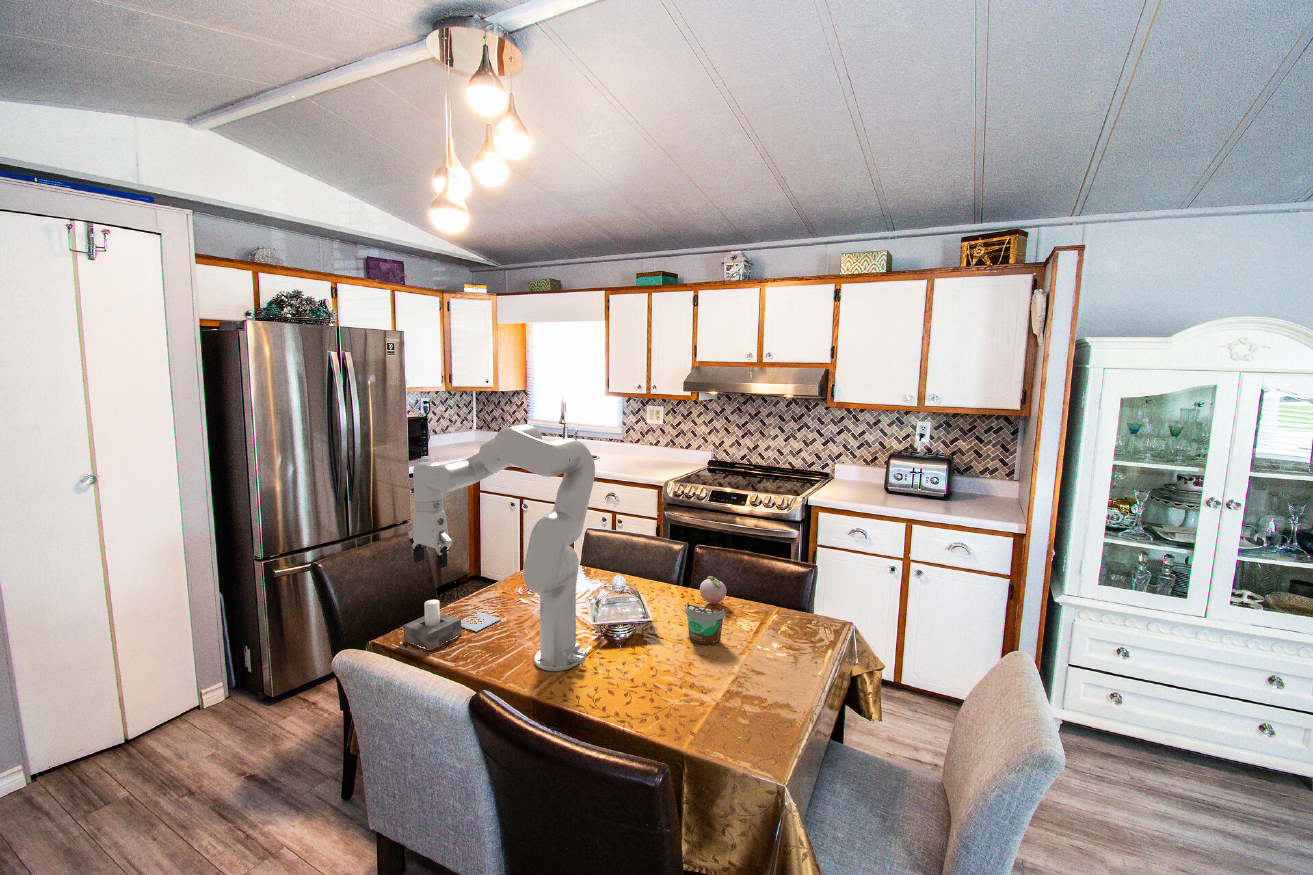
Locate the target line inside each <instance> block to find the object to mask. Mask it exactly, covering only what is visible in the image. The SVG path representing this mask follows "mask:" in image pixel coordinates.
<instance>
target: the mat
mask: <svg viewBox="0 0 1313 875" xmlns="http://www.w3.org/2000/svg"><path fill="white" fill-rule="evenodd" d="M476 613H477V614H475V613H472V614H471V615H478V616H470V615H468V616H467V618H466V617H464V618H463V619H481V620H473V621H484V622H473V623H477V624H461V626H462V627H464V628H469V629H470V630H474V631H476V632H477V631H478V630H481V629H482V628H485V627H486V626H489V625H491V624H492V623H495V622H497V621H499V620H501V621H502V618H501V617H497V616H494V615H491V614H487V613H485V612H481V611H477V612H476ZM468 617H478V618H468ZM479 617H480V618H479ZM483 619H484V620H483ZM461 621H468V620H462V619H461ZM469 621H470V620H469ZM471 621H472V620H471ZM499 622H500V621H499ZM461 623H472V622H461ZM481 623H482V624H481ZM497 623H498V622H497ZM495 624H496V623H495ZM491 626H492V625H491ZM489 627H490V626H489ZM485 629H486V628H485ZM481 631H482V630H481Z"/></svg>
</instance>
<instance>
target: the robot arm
mask: <svg viewBox="0 0 1313 875" xmlns="http://www.w3.org/2000/svg"><path fill="white" fill-rule="evenodd" d="M512 465H513V466H516V467H518V468H520V469H523V470H525V471H528V472H530V473H532V474H536V475H538V476H541V477H545V478H546V477H547V478H551V477H553V478H554V477H557V476H559V475H562V474H563V477H562V480H561V482H560V484H559V487H558V489H557V491H556V497H555V501H554V505H553V507H552V510H551V511H550V513H548V514H546V515H544V516H541V518H540V519H538V520H537V521H536V523H535V524H534V526H533V528H532V531H531V532H530V536H529V542H528V545H527V551H526V553H525V559H524V563H523V568H522V577H523V581H524V584H525V585H526V587H527V588H528V590H530V591H531V592H532V593H534V594H539V650H538V651H537V652H536V653H535V655H534V658H533V659H534V664H535V666H536V667H537V668H539V669H541V670H543V671H547V672H549V671H550V672H561V671H566V670H567V671H568V670H570V669H573V668H574V667H576V666H578V665H579V664H581V665H583V664H585V661H586V657H587V652H585V651H581V650H580V643H577V622H576V621H577V612H576V610H577V608H576V607H577V582H578V575H579V565H580V564H579V558H578V557H579V556H578V554H577V552H576V550H575V549H574V548H573V547H572V546H571V545H572V544H573V543H574V542H577V540H578V539H579V538H580V537H581V535H582V532H583V530H584V527H585V526H584V525H585V521H586V516H587V512H588V508H589V504H590V499H591V493H592V490H593V486H594V482H595V478H596V477H595V475H596V464H595V460H594V457H593V455H592V453H591V452H590V449H589V448H588V447H587V446H586V445H585V444H584V443H582V442H581V441H580V440H577V439H573V438H562V439H561V438H560V439H556V440H553V441H549V442H547V441H544V440H543V435H542V434H541V431H540V430H539V429H538V428H537V427H536V426H533V425H530V424H519V425H514V426H513V425H511V426H508V427H505V428H502V429H500V430H499V432H497V433H496V434H495V437H494V438H492V439H490V440H488V441H486V442H484V443H483V444H482V445H480V448H479V451H478V452H477V453H476V454H474V455H472V456H470V457H467V458H466V459H462V460H459V461H458V460H457V461H453V462H450V463H445V464H441V463H439V462H437V461H422V462H417V463H416V464H414V466H413V467H412V468H413V470H412V472H413V473H412V474H413V497H414V498H413V499H414V500H413V503H414V504H413V506H414V510H413V511H414V512H413V517H412V529H411V530H409V531H408V532H407V534H408V537H409V541H410V544H411V548H412V550H413V563H419V562H421V561H424V560H425V546H426V547H429V548H434V549H435V550H436V556H435V557H436V559H435V560H436V569H438V570H440V569H443V568H446V567H447V566H448V553H450V552H449V551H450V550H451V546H452V544H453V539H451V538H450V537H449V527H448V520H447V515H446V511H445V510H444V498H443V497H444V493H450V492H452V491H456V490H459V489H463V488H466V487H469V486H472V485H474V484H476V483H478V482H480V481H483V480H484V479H487V478H489V477H490V476H492V475H494V474H497V473H498V472H501V471H502V470H505V469H506V468H509V467H510V466H512Z"/></svg>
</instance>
